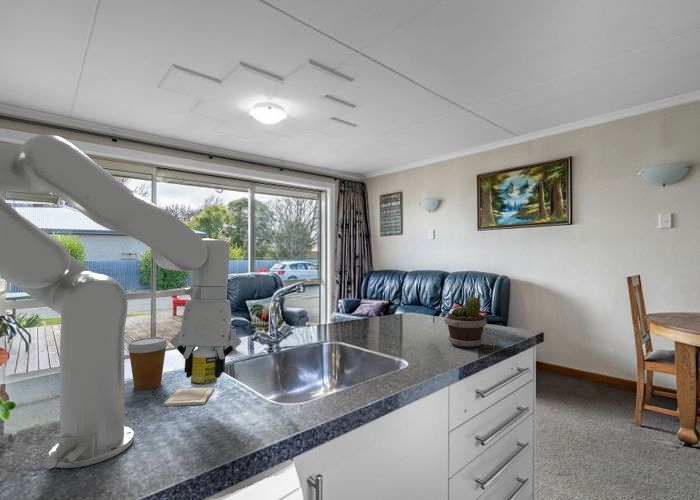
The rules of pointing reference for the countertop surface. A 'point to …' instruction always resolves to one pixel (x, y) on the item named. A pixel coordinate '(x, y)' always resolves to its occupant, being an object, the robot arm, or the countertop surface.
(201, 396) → the coaster
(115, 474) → the countertop surface
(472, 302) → the flowerpot
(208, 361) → the supplement bottle
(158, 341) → the disposable coffee cup
